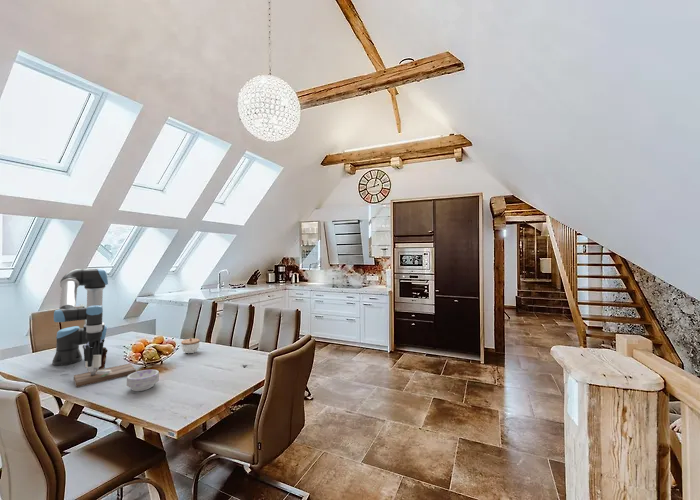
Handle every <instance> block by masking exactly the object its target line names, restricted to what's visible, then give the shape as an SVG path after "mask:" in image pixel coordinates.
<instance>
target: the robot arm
mask: <svg viewBox="0 0 700 500" xmlns="http://www.w3.org/2000/svg"><path fill="white" fill-rule="evenodd" d="M107 273H108V272H107V270H106V269H105V268H76V269H73V270H70V271H69V272H67V273H65V275H63V276H62V277H61V279H60V281H59V282H60V283H59V285H60V288H61V291H60V292H61V293H60V299H59V308H58V309H55V310H54V312H53V322H55V323H65V322H66V323H67V322H75V321H76V322H77V321H85V322H86V323H84V324H83V327H80V326H79V325H75V326H69V327H65V328H61V329H59V330H58V331H57V332H56V338H55V339H56V343H55V344H56V345H55V346H56V347H55V348H56V349H55V351H56V352H55V353H54V354H55V355H54V357H53V359H52V364H51V365H52V366H66V365H67V366H68V365H71V364H75V363H78V362H81V361H82V360H84V362H86V361H88V368H87V372H93V371H94V360H93V354H94V355H101V356H102V354H103V347H104V343H105V339H106V335H107V330H108V326H107V325H106V324H105V322H104V321H103V312H104V311H103V293H104V289H105V288H106V286H107V285H109V280H108V274H107ZM80 286H83V287H84V289H85V290H86V307H76V306H77V295H78V293H77V292H78V288H79V287H80ZM80 346H82V349H83V355H82V353H81V351H80ZM96 369H99V368H96ZM99 370H100V369H99Z"/></svg>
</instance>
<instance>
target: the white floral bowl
mask: <svg viewBox="0 0 700 500" xmlns="http://www.w3.org/2000/svg"><path fill="white" fill-rule="evenodd" d="M159 380H160V371H159V370H157V369H143V370H138V371H136V372H134V373H132V374H130V375H127V376H126V387H128V388H130V389H131V390H132V391H134V392H141V391H142V392H143V391H146V390H149V389H151V388H153V387H154V385H155V384H156V383H158V382H159Z"/></svg>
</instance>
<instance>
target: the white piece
mask: <svg viewBox="0 0 700 500" xmlns="http://www.w3.org/2000/svg"><path fill="white" fill-rule="evenodd" d="M93 360H94V371H93V372H91V375H95V374H107V373H110V371H97V372H96V368H99V367H100V366H101V355H93ZM85 369H88V361H85Z"/></svg>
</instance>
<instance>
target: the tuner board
mask: <svg viewBox="0 0 700 500" xmlns="http://www.w3.org/2000/svg"><path fill="white" fill-rule="evenodd" d="M97 371H110V373H107V374H95V375H91V372H88V371H87V372H82V373H78V374H73V381H74V384H75V386H76V387H75V388H80V387H84V386H87V385H92V384H96V383H101V382H105V381H110V380H114V379H117V378H118V379H119V378H122V377H125V376H126V377H127V376H128V375H130V374H132V373H134V372H137V369H136V368H135V367H134V366H133V365H132V364H131V363H126V364H121V365H116V366H111V367H105V368H103V369H99V370H96V372H97Z"/></svg>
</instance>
